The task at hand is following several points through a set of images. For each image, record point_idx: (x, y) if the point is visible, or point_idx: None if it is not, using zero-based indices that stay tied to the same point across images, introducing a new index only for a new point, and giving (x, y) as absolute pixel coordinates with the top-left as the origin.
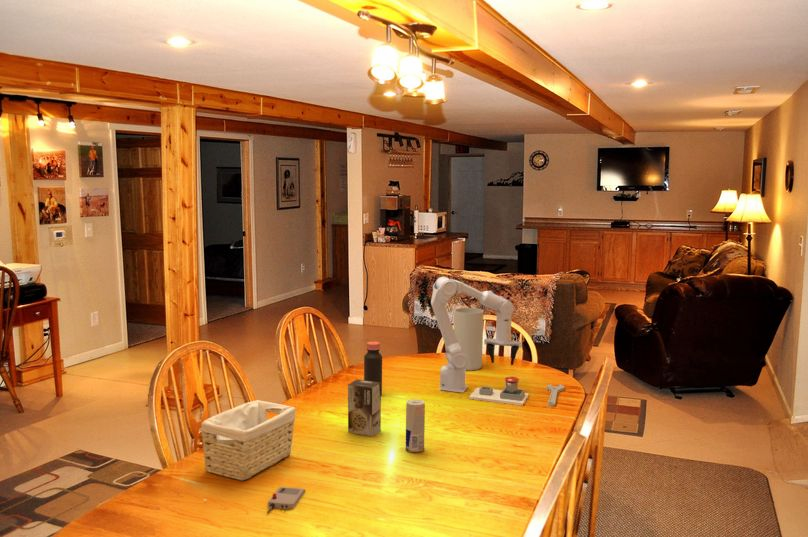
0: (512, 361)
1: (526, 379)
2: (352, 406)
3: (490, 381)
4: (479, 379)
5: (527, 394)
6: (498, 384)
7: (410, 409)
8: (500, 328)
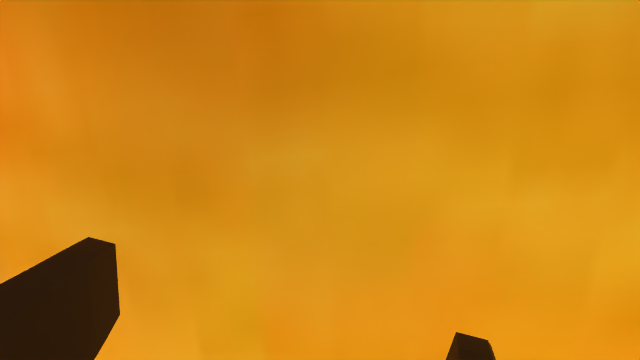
0: (36, 269)
1: (148, 345)
2: None
3: (467, 291)
4: (581, 344)
5: None
6: (385, 206)
7: None
8: None
